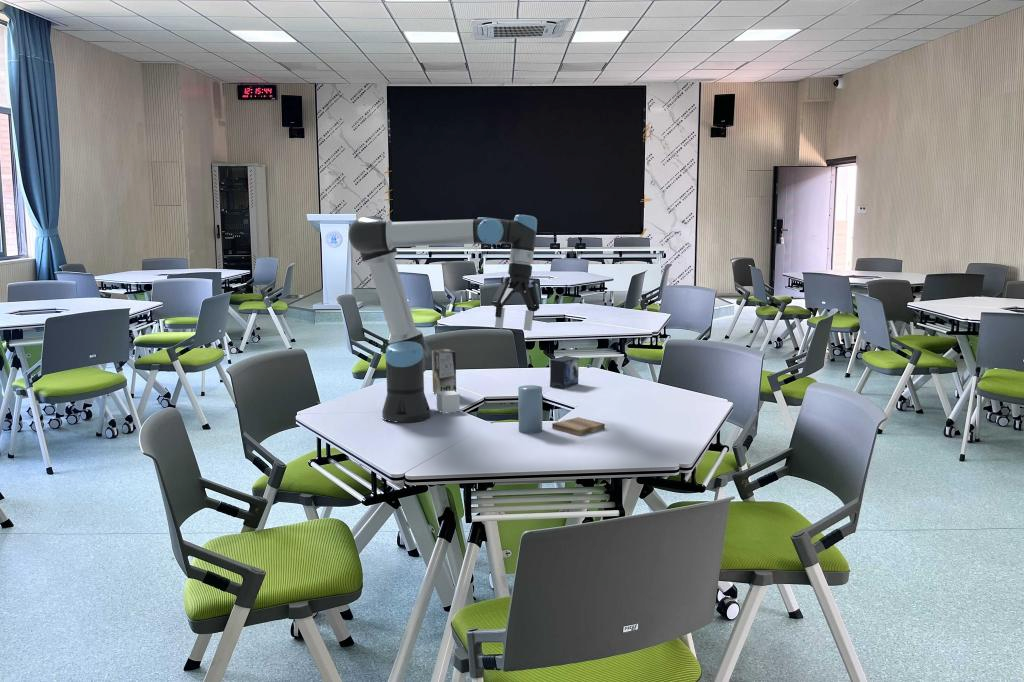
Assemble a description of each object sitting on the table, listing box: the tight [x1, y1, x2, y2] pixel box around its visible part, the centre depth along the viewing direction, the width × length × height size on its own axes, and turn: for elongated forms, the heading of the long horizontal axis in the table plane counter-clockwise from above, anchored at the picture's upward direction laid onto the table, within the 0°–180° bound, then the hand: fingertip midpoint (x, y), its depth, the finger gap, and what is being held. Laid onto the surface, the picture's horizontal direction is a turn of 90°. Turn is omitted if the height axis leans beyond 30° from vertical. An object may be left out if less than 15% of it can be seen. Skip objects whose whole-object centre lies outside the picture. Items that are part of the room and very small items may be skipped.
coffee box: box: [431, 348, 457, 395], centre depth 288 cm, size 9×6×16 cm
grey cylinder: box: [517, 384, 543, 435], centre depth 239 cm, size 7×7×13 cm
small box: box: [549, 355, 580, 390], centre depth 302 cm, size 11×6×10 cm, turn 143°
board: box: [551, 417, 606, 436], centre depth 242 cm, size 11×11×2 cm
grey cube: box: [436, 391, 461, 414], centre depth 266 cm, size 6×6×6 cm
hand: (513, 329), depth 262 cm, fingers open, 13 cm apart
